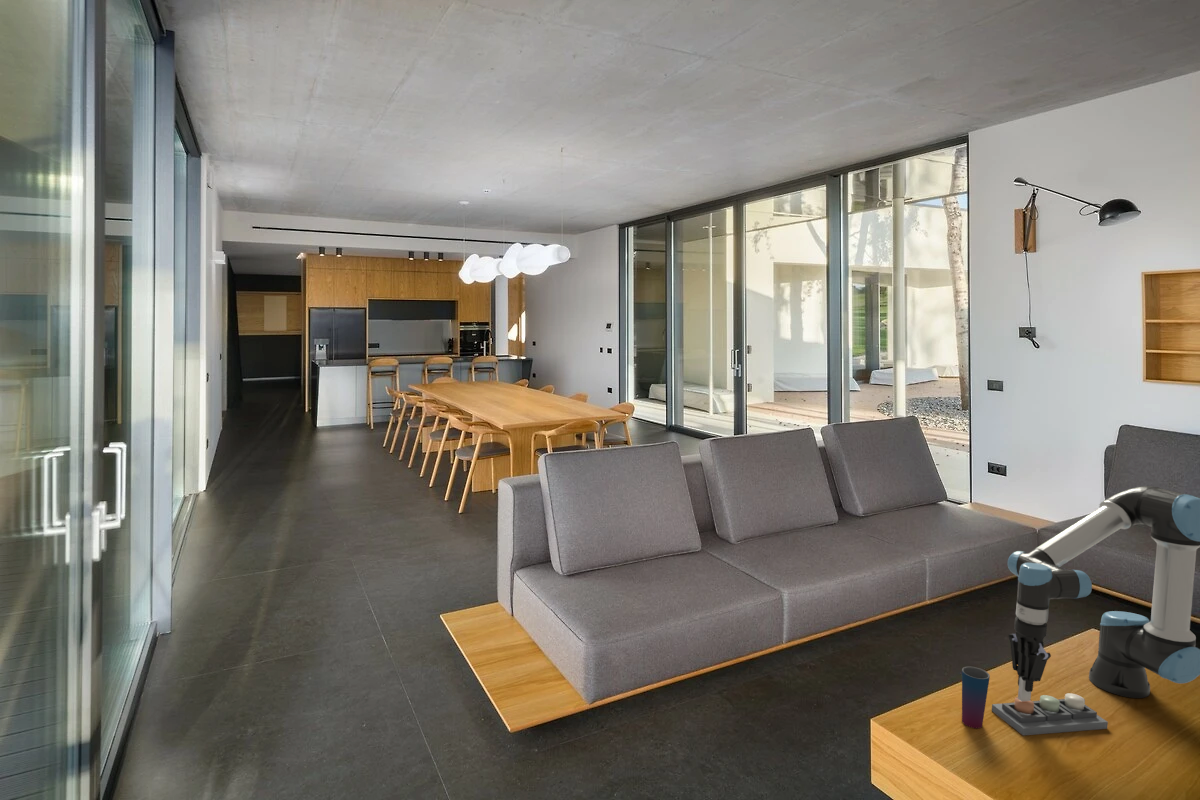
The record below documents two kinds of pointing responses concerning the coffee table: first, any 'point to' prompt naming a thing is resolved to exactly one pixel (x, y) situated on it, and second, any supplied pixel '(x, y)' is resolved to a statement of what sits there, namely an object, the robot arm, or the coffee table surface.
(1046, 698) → the button sage
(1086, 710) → the panel
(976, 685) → the cup
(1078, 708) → the button cream
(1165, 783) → the coffee table surface
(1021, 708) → the button rust
